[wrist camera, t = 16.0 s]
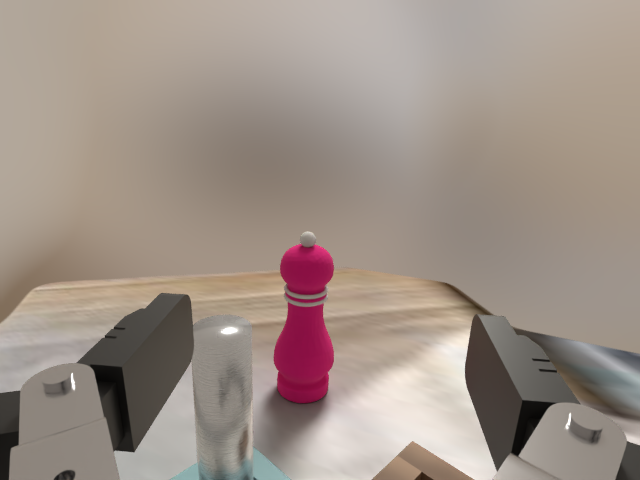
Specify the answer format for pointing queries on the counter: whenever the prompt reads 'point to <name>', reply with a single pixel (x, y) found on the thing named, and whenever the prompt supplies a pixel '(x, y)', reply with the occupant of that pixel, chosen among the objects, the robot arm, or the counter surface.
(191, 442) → the counter surface
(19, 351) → the counter surface
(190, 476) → the socket
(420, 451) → the bore block
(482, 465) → the counter surface
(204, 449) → the axle
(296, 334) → the pepper mill
